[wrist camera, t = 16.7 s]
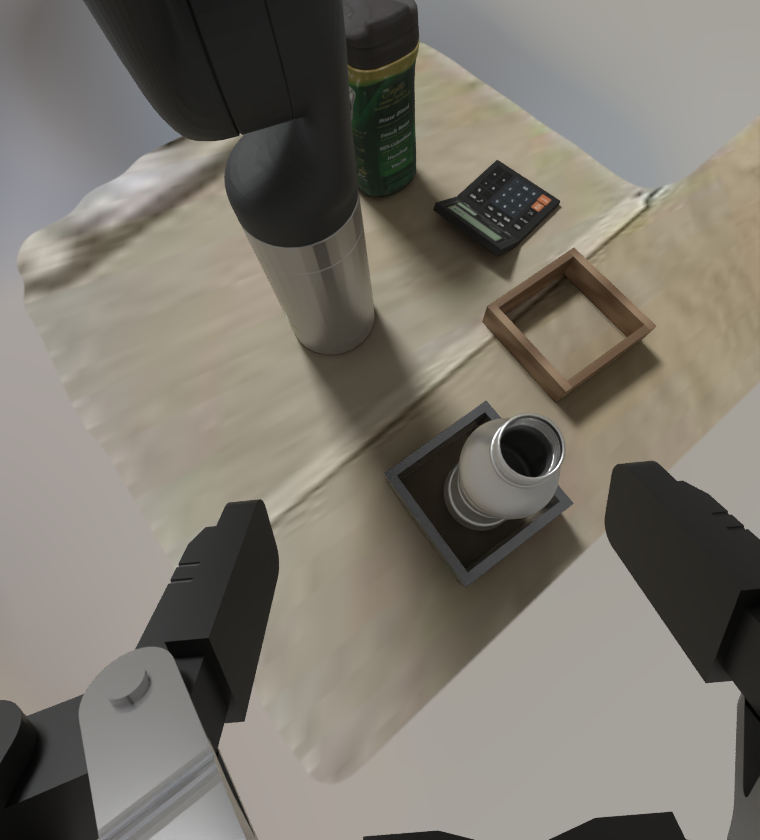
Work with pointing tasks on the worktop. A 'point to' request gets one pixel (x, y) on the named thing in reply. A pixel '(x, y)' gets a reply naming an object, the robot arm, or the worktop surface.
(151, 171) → the worktop surface
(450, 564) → the gray square tray
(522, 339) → the wooden square tray
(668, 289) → the worktop surface
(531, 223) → the calculator
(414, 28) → the coffee jar
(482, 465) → the silver metal bottle
